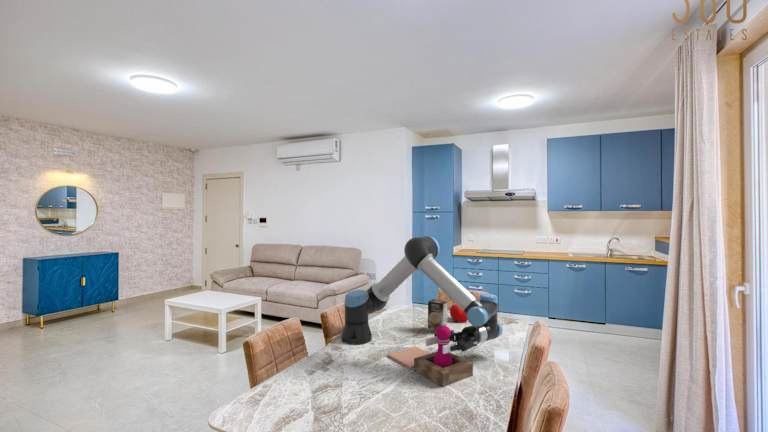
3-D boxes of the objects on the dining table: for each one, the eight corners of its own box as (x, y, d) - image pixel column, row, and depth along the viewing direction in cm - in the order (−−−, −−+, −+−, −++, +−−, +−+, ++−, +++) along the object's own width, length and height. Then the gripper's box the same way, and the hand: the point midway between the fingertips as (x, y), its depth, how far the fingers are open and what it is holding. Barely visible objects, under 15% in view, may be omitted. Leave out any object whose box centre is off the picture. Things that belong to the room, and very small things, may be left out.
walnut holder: (414, 370, 139) (414, 358, 139) (442, 361, 148) (443, 349, 148) (443, 387, 126) (443, 373, 126) (472, 375, 135) (472, 362, 135)
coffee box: (427, 331, 187) (427, 301, 188) (432, 328, 193) (432, 298, 193) (443, 334, 183) (443, 303, 183) (447, 331, 188) (447, 301, 188)
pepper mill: (452, 378, 133) (452, 325, 133) (433, 376, 134) (433, 324, 134) (452, 370, 140) (452, 319, 140) (434, 368, 141) (434, 318, 141)
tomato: (453, 316, 215) (453, 300, 215) (473, 320, 207) (473, 303, 207) (445, 321, 206) (445, 303, 206) (466, 325, 198) (466, 307, 198)
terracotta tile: (387, 356, 154) (387, 353, 154) (415, 348, 163) (415, 346, 163) (410, 369, 140) (410, 366, 140) (439, 359, 150) (439, 357, 150)
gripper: (495, 351, 139) (455, 365, 126) (454, 336, 156) (416, 347, 143) (495, 332, 139) (455, 344, 126) (454, 319, 156) (416, 329, 143)
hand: (434, 346), depth 134 cm, fingers open, 9 cm apart
